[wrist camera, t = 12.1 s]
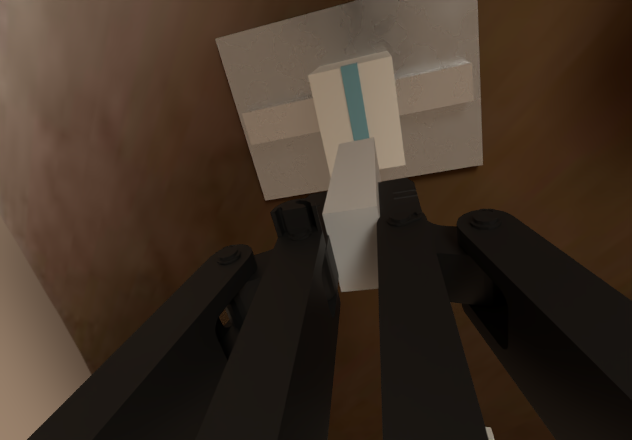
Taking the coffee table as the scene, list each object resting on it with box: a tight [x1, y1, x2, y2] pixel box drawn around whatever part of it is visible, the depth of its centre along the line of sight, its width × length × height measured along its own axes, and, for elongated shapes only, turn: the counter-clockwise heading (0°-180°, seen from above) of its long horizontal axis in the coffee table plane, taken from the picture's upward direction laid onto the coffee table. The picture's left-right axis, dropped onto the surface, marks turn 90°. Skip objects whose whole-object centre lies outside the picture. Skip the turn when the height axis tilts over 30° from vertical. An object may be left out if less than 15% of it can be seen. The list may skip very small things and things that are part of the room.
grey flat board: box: [215, 0, 483, 201], centre depth 34 cm, size 16×22×3 cm
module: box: [308, 51, 405, 177], centre depth 31 cm, size 8×6×7 cm
